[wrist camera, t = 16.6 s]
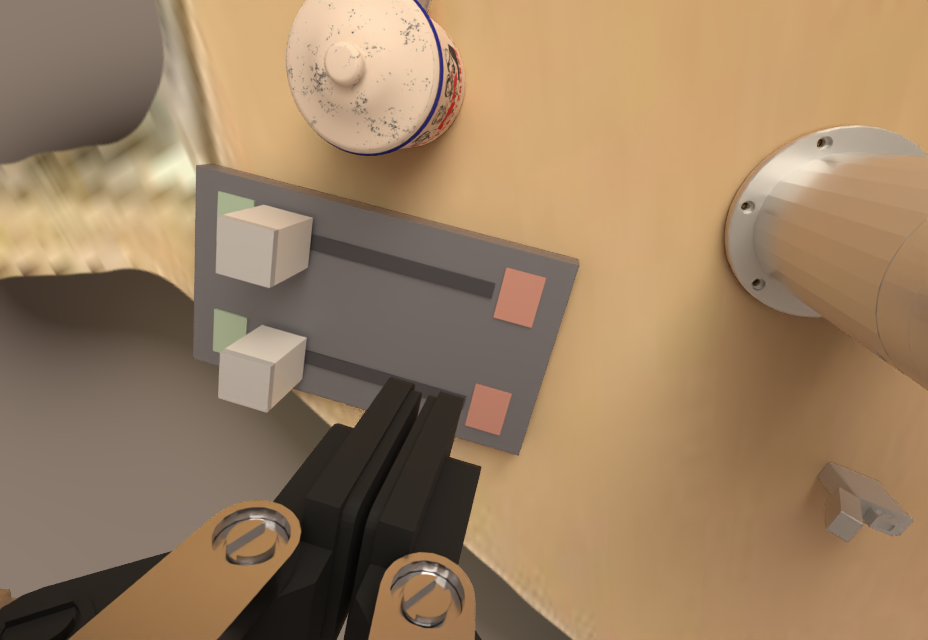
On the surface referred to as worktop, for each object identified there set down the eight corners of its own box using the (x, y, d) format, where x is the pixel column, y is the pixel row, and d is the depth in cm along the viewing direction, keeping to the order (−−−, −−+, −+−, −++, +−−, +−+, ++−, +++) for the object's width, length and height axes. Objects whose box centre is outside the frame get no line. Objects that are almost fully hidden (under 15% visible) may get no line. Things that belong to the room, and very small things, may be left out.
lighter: (879, 481, 40) (951, 560, 32) (865, 497, 40) (933, 578, 33) (793, 447, 40) (845, 517, 33) (781, 463, 41) (829, 536, 33)
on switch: (313, 217, 38) (274, 231, 33) (307, 267, 40) (269, 288, 34) (263, 204, 38) (217, 216, 33) (260, 254, 40) (215, 272, 35)
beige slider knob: (306, 337, 42) (270, 366, 37) (302, 379, 43) (267, 412, 38) (261, 324, 42) (220, 351, 37) (258, 366, 44) (218, 397, 38)
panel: (578, 259, 38) (579, 266, 36) (520, 442, 44) (518, 456, 42) (212, 163, 41) (194, 165, 39) (207, 349, 47) (191, 359, 45)
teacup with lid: (440, 171, 38) (391, 187, 27) (330, 119, 38) (238, 114, 27) (508, -3, 33) (483, -68, 22) (383, -61, 33) (298, -154, 22)
